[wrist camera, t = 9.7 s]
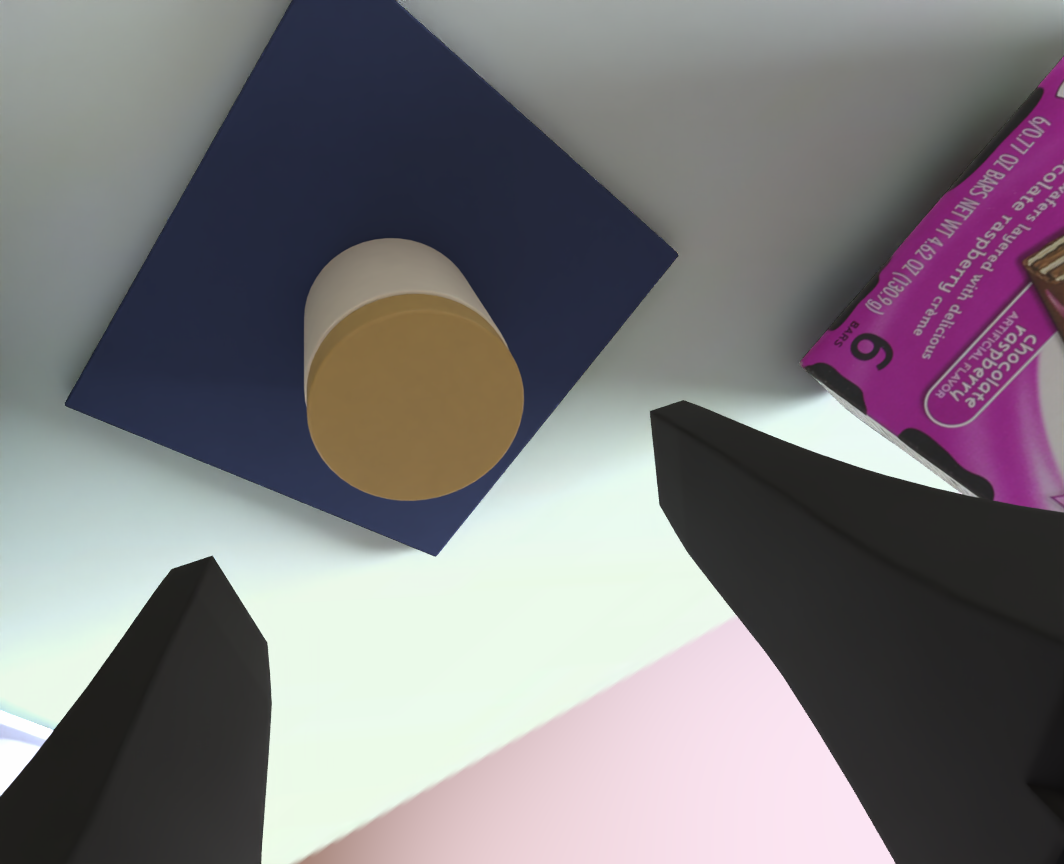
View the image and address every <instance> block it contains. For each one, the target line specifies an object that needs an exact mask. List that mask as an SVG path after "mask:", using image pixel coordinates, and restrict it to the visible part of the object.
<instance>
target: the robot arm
mask: <svg viewBox="0 0 1064 864" xmlns="http://www.w3.org/2000/svg"><path fill="white" fill-rule="evenodd" d="M650 418H651V427H652V437H653V446H654V456H655V466H656V475H657V485H658V494H659V504H660V506H661V508H662V510H663V512H664V513H665V515H666V517H667V519H668V520H669V522H670V524H671V526H672V527H673V529H674V531H675V533H676V534H677V536H678V537H679V539H680V541H681V542H682V544H683V546H684V547H685V549H686V551H687V552H688V554H689V555H690V556H691V557H692V559H693V560H694V561H695V563H696V564H697V565H698V567H699V568H700V569H701V570H702V572H703V573H704V574H705V576H706V577H707V578H708V580H709V581H710V582H711V583H712V585H713V586H714V587H715V589H716V590H717V591H718V592H719V594H720V595H721V596H722V597H723V599H724V600H725V601H726V602H727V604H728V605H729V606H730V608H731V609H732V610H733V611H734V613H735V614H736V615H737V616H738V618H739V619H740V620H741V621H742V623H743V624H744V625H745V627H746V628H747V629H748V630H749V632H750V633H751V634H752V635H753V637H754V638H755V639H756V641H757V642H758V643H759V644H760V646H761V647H762V648H763V649H764V651H765V652H766V653H767V655H768V656H769V657H770V659H771V660H772V662H773V663H774V664H775V666H776V667H777V669H778V670H779V671H780V673H781V674H782V676H783V677H784V679H785V680H786V682H787V683H788V685H789V686H790V688H791V690H792V691H793V693H794V694H795V696H796V697H797V699H798V701H799V702H800V704H801V705H802V707H803V708H804V710H805V712H806V713H807V715H808V716H809V718H810V719H811V721H812V723H813V724H814V726H815V727H816V729H817V730H818V732H819V734H820V735H821V737H822V739H823V740H824V742H825V744H826V745H827V747H828V749H829V750H830V752H831V754H832V755H833V757H834V758H835V760H836V762H837V763H838V765H839V767H840V768H841V770H842V772H843V773H844V775H845V777H846V778H847V780H848V782H849V783H850V785H851V787H852V788H853V790H854V792H855V793H856V795H857V797H858V798H859V800H860V802H861V804H862V806H863V807H864V809H865V811H866V813H867V814H868V816H869V818H870V819H871V821H872V823H873V825H874V826H875V828H876V830H877V832H878V833H879V835H880V837H881V838H882V840H883V842H884V844H885V845H886V847H887V849H888V851H889V852H890V854H891V856H892V858H893V859H894V861H895V863H896V864H1064V512H1058V511H1052V510H1045V509H1039V508H1032V507H1026V506H1020V505H1015V504H1009V503H1004V502H999V501H994V500H989V499H983V498H978V497H973V496H968V495H963V494H958V493H954V492H949V491H945V490H940V489H936V488H932V487H928V486H924V485H920V484H917V483H913V482H909V481H905V480H901V479H898V478H894V477H890V476H886V475H883V474H879V473H876V472H873V471H869V470H866V469H863V468H859V467H856V466H853V465H850V464H847V463H844V462H842V461H839V460H836V459H833V458H830V457H827V456H824V455H821V454H818V453H815V452H812V451H810V450H807V449H804V448H802V447H799V446H796V445H794V444H791V443H788V442H786V441H783V440H781V439H778V438H776V437H773V436H771V435H768V434H766V433H763V432H761V431H758V430H756V429H753V428H751V427H749V426H746V425H744V424H741V423H739V422H737V421H734V420H732V419H729V418H727V417H725V416H722V415H720V414H718V413H715V412H713V411H710V410H708V409H705V408H703V407H701V406H698V405H695V404H693V403H690V402H687V401H684V400H682V401H679V402H676V403H673V404H670V405H667V406H664V407H661V408H658V409H655V410H652V411H650ZM271 706H272V701H271V683H270V669H269V657H268V645H267V642H266V640H265V638H264V637H263V635H262V634H261V632H260V630H259V629H258V627H257V626H256V624H255V622H254V621H253V619H252V618H251V616H250V615H249V613H248V611H247V610H246V608H245V607H244V605H243V603H242V602H241V600H240V599H239V597H238V595H237V594H236V592H235V591H234V589H233V587H232V586H231V584H230V583H229V581H228V580H227V578H226V576H225V575H224V573H223V572H222V570H221V568H220V567H219V565H218V564H217V562H216V560H215V559H214V557H213V556H210V557H207V558H204V559H201V560H198V561H195V562H192V563H189V564H186V565H183V566H180V567H177V568H174V569H171V571H170V572H169V573H168V575H167V576H166V577H165V578H164V580H163V581H162V582H161V584H160V585H159V586H158V588H157V589H156V590H155V592H154V593H153V595H152V596H151V597H150V599H149V600H148V602H147V603H146V605H145V606H144V607H143V609H142V610H141V612H140V613H139V615H138V616H137V617H136V619H135V620H134V622H133V623H132V625H131V626H130V627H129V629H128V630H127V632H126V633H125V635H124V636H123V637H122V639H121V640H120V642H119V643H118V644H117V646H116V647H115V649H114V650H113V651H112V653H111V654H110V656H109V657H108V658H107V660H106V661H105V663H104V664H103V665H102V667H101V668H100V670H99V671H98V672H97V674H96V675H95V677H94V678H93V679H92V681H91V682H90V684H89V685H88V686H87V688H86V689H85V690H84V692H83V693H82V694H81V696H80V697H79V698H78V700H77V701H76V702H75V703H74V705H73V706H72V707H71V709H70V710H69V711H68V712H67V714H66V715H65V716H64V718H63V719H62V720H61V722H60V723H59V724H58V725H57V727H56V728H55V729H54V730H52V729H49V728H47V727H44V726H41V725H39V724H36V723H33V722H31V721H28V720H25V719H23V718H20V717H17V716H15V715H12V714H9V713H7V712H4V711H1V710H0V864H261V852H262V838H263V824H264V810H265V796H266V783H267V769H268V755H269V740H270V724H271Z"/></svg>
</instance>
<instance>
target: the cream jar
mask: <svg viewBox="0 0 1064 864" xmlns="http://www.w3.org/2000/svg"><path fill="white" fill-rule="evenodd" d="M304 394H305V403H306V407H307V420H308V427H309V431H310V435H311V438H312V441H313V443H314V445H315V448H316V450H317V451H318V453H319V454H320V456H321V458H322V459H323V461H324V462H325V463H326V464H327V465H328V467H329V468H330V469H331V470H332V471H333V472H334V473H335V474H337V475H338V476H339V477H340V478H341V479H343V480H344V481H345V482H347V483H348V484H350V485H351V486H353V487H355V488H357V489H359V490H361V491H363V492H366V493H368V494H371V495H374V496H377V497H382V498H386V499H392V500H400V501H416V500H426V499H431V498H436V497H441V496H444V495H447V494H450V493H453V492H455V491H458V490H460V489H462V488H464V487H466V486H468V485H470V484H472V483H473V482H475V481H476V480H478V479H479V478H481V477H482V476H484V475H485V474H486V473H487V472H488V471H489V470H491V469H492V468H493V467H494V466H495V465H496V464H497V463H498V462H499V460H500V459H501V458H502V457H503V456H504V454H505V453H506V451H507V450H508V449H509V447H510V445H511V444H512V442H513V440H514V438H515V436H516V434H517V431H518V428H519V426H520V422H521V418H522V414H523V406H524V389H523V383H522V378H521V375H520V372H519V369H518V366H517V364H516V362H515V360H514V358H513V356H512V354H511V353H510V351H509V349H508V346H507V344H506V342H505V340H504V338H503V336H502V334H501V333H500V331H499V330H498V328H497V326H496V325H495V323H494V322H493V320H492V319H491V317H490V316H489V314H488V312H487V311H486V309H485V308H484V306H483V305H482V303H481V302H480V300H479V299H478V297H477V295H476V294H475V292H474V291H473V289H472V288H471V286H470V285H469V283H468V282H467V280H466V278H465V277H464V276H463V274H462V273H461V271H460V270H459V269H458V268H457V267H456V266H455V265H454V264H453V262H452V261H450V260H449V259H448V258H447V257H445V256H444V255H443V254H441V253H440V252H438V251H436V250H435V249H433V248H431V247H429V246H427V245H424V244H422V243H419V242H415V241H412V240H406V239H399V238H384V239H375V240H371V241H367V242H363V243H360V244H358V245H355V246H352V247H350V248H349V249H347V250H345V251H343V252H341V253H340V254H339V255H337V256H336V257H335V258H333V259H332V260H331V261H330V262H329V263H328V264H327V265H326V266H325V267H324V268H323V269H322V271H321V272H320V273H319V275H318V276H317V277H316V279H315V281H314V283H313V285H312V286H311V289H310V291H309V294H308V297H307V301H306V305H305V313H304Z"/></svg>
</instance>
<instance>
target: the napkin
mask: <svg viewBox="0 0 1064 864" xmlns="http://www.w3.org/2000/svg"><path fill="white" fill-rule="evenodd" d="M384 238H399V239H406V240H412V241H415V242H419V243H422V244H424V245H427V246H429V247H431V248H433V249H435V250H436V251H438V252H440V253H441V254H443V255H444V256H445V257H447V258H448V259H449V260H450V261H452V262H453V264H454V265H455V266H456V267H457V268H458V269H459V270H460V271H461V273H462V274H463V276H464V277H465V278H466V280H467V282H468V283H469V285H470V286H471V288H472V289H473V291H474V292H475V294H476V295H477V297H478V299H479V300H480V302H481V303H482V305H483V306H484V308H485V309H486V311H487V312H488V314H489V316H490V317H491V319H492V320H493V322H494V323H495V325H496V326H497V328H498V330H499V331H500V333H501V334H502V336H503V338H504V340H505V342H506V344H507V346H508V349H509V351H510V353H511V354H512V356H513V358H514V360H515V362H516V364H517V366H518V369H519V372H520V375H521V378H522V383H523V389H524V406H523V414H522V418H521V422H520V426H519V428H518V431H517V434H516V436H515V438H514V440H513V442H512V444H511V445H510V447H509V449H508V450H507V451H506V453H505V454H504V456H503V457H502V458H501V459H500V460H499V462H498V463H497V464H496V465H495V466H494V467H493V468H492V469H491V470H489V471H488V472H487V473H486V474H485V475H484V476H482V477H481V478H479V479H478V480H476V481H475V482H473V483H472V484H470V485H468V486H466V487H464V488H462V489H460V490H458V491H455V492H453V493H450V494H447V495H444V496H441V497H436V498H431V499H426V500H416V501H400V500H392V499H386V498H382V497H377V496H374V495H371V494H368V493H366V492H363V491H361V490H359V489H357V488H355V487H353V486H351V485H350V484H348V483H347V482H345V481H344V480H343V479H341V478H340V477H339V476H338V475H337V474H335V473H334V472H333V471H332V470H331V469H330V468H329V467H328V465H327V464H326V463H325V462H324V461H323V459H322V458H321V456H320V454H319V453H318V451H317V450H316V448H315V445H314V443H313V441H312V438H311V435H310V431H309V427H308V420H307V407H306V403H305V394H304V313H305V305H306V301H307V297H308V294H309V291H310V289H311V286H312V285H313V283H314V281H315V279H316V277H317V276H318V275H319V273H320V272H321V271H322V269H323V268H324V267H325V266H326V265H327V264H328V263H329V262H330V261H331V260H332V259H333V258H335V257H336V256H337V255H339V254H340V253H341V252H343V251H345V250H347V249H349V248H350V247H352V246H355V245H358V244H360V243H363V242H367V241H371V240H375V239H384ZM677 257H678V253H677V252H676V251H675V250H674V249H673V248H671V247H670V246H669V245H668V244H667V243H666V242H665V241H664V240H663V239H661V238H660V237H659V236H658V235H657V234H656V233H655V232H654V231H652V230H651V229H650V228H649V227H648V226H647V225H646V224H645V223H644V222H642V221H641V220H640V219H639V218H638V217H637V216H636V215H635V214H633V213H632V212H631V211H630V210H629V209H628V208H627V207H626V206H625V205H623V204H622V203H621V202H620V201H619V200H618V199H617V198H616V197H614V196H613V195H612V194H611V193H610V192H609V191H608V190H607V189H606V188H604V187H603V186H602V185H601V184H600V183H599V182H598V181H597V180H595V179H594V178H593V177H592V176H591V175H590V174H589V173H588V172H587V171H585V170H584V169H583V168H582V167H581V166H580V165H579V164H578V163H576V162H575V161H574V160H573V159H572V158H571V157H570V156H569V155H568V154H566V153H565V152H564V151H563V150H562V149H561V148H560V147H559V146H557V145H556V144H555V143H554V142H553V141H552V140H551V139H550V138H549V137H547V136H546V135H545V134H544V133H543V132H542V131H541V130H540V129H538V128H537V127H536V126H535V125H534V124H533V123H532V122H531V121H530V120H528V119H527V118H526V117H525V116H524V115H523V114H522V113H521V112H519V111H518V110H517V109H516V108H515V107H514V106H513V105H512V104H511V103H509V102H508V101H507V100H506V99H505V98H504V97H503V96H502V95H500V94H499V93H498V92H497V91H496V90H495V89H494V88H493V87H492V86H490V85H489V84H488V83H487V82H486V81H485V80H484V79H483V78H481V77H480V76H479V75H478V74H477V73H476V72H475V71H474V70H473V69H471V68H470V67H469V66H468V65H467V64H466V63H465V62H464V61H462V60H461V59H460V58H459V57H458V56H457V55H456V54H455V53H454V52H452V51H451V50H450V49H449V48H448V47H447V46H446V45H445V44H443V43H442V42H441V41H440V40H439V39H438V38H437V37H436V36H435V35H433V34H432V33H431V32H430V31H429V30H428V29H427V28H426V27H424V26H423V25H422V24H421V23H420V22H419V21H418V20H417V19H416V18H414V17H413V16H412V15H411V14H410V13H409V12H408V11H407V10H405V9H404V8H403V7H402V6H401V5H400V4H399V3H398V2H397V1H395V0H292V1H291V3H290V5H289V7H288V9H287V10H286V12H285V14H284V16H283V17H282V19H281V21H280V23H279V24H278V26H277V28H276V30H275V32H274V33H273V35H272V37H271V39H270V40H269V42H268V44H267V46H266V47H265V49H264V51H263V53H262V55H261V56H260V58H259V60H258V62H257V63H256V65H255V67H254V69H253V71H252V72H251V74H250V76H249V78H248V79H247V81H246V83H245V85H244V86H243V88H242V90H241V92H240V94H239V95H238V97H237V99H236V101H235V102H234V104H233V106H232V108H231V109H230V111H229V113H228V115H227V117H226V118H225V120H224V122H223V124H222V125H221V127H220V129H219V131H218V133H217V134H216V136H215V138H214V140H213V141H212V143H211V145H210V147H209V148H208V150H207V152H206V154H205V156H204V157H203V159H202V161H201V163H200V164H199V166H198V168H197V170H196V171H195V173H194V175H193V177H192V179H191V180H190V182H189V184H188V186H187V187H186V189H185V191H184V193H183V195H182V196H181V198H180V200H179V202H178V203H177V205H176V207H175V209H174V210H173V212H172V214H171V216H170V218H169V219H168V221H167V223H166V225H165V226H164V228H163V230H162V232H161V233H160V235H159V237H158V239H157V241H156V242H155V244H154V246H153V248H152V249H151V251H150V253H149V255H148V257H147V258H146V260H145V262H144V264H143V265H142V267H141V269H140V271H139V272H138V274H137V276H136V278H135V280H134V281H133V283H132V285H131V287H130V288H129V290H128V292H127V294H126V295H125V297H124V299H123V301H122V303H121V304H120V306H119V308H118V310H117V311H116V313H115V315H114V317H113V319H112V320H111V322H110V324H109V326H108V327H107V329H106V331H105V333H104V334H103V336H102V338H101V340H100V342H99V343H98V345H97V347H96V349H95V350H94V352H93V354H92V356H91V357H90V359H89V361H88V363H87V365H86V366H85V368H84V370H83V372H82V373H81V375H80V377H79V379H78V381H77V382H76V384H75V386H74V388H73V389H72V391H71V393H70V395H69V396H68V398H67V400H66V402H65V406H67V407H69V408H72V409H74V410H76V411H79V412H81V413H84V414H86V415H89V416H91V417H94V418H96V419H99V420H101V421H103V422H106V423H108V424H111V425H113V426H116V427H118V428H121V429H123V430H126V431H128V432H130V433H133V434H135V435H138V436H140V437H143V438H145V439H148V440H150V441H153V442H155V443H158V444H160V445H162V446H165V447H167V448H170V449H172V450H175V451H177V452H180V453H182V454H185V455H187V456H189V457H192V458H194V459H197V460H199V461H202V462H204V463H207V464H209V465H212V466H214V467H216V468H219V469H221V470H224V471H226V472H229V473H231V474H234V475H236V476H239V477H241V478H243V479H246V480H248V481H251V482H253V483H256V484H258V485H261V486H263V487H266V488H268V489H270V490H273V491H275V492H278V493H280V494H283V495H285V496H288V497H290V498H293V499H295V500H297V501H300V502H302V503H305V504H307V505H310V506H312V507H315V508H317V509H320V510H322V511H324V512H327V513H329V514H332V515H334V516H337V517H339V518H342V519H344V520H347V521H349V522H352V523H354V524H356V525H359V526H361V527H364V528H366V529H369V530H371V531H374V532H376V533H379V534H381V535H383V536H386V537H388V538H391V539H393V540H396V541H398V542H401V543H403V544H406V545H408V546H410V547H413V548H415V549H418V550H420V551H423V552H425V553H428V554H430V555H433V556H437V555H438V554H439V552H440V551H441V550H442V549H443V547H444V546H445V545H446V544H447V542H448V541H449V540H450V539H451V537H452V536H453V535H454V534H455V532H456V531H457V530H458V529H459V528H460V526H461V525H462V524H463V523H464V521H465V520H466V519H467V518H468V516H469V515H470V514H471V513H472V511H473V510H474V509H475V508H476V506H477V505H478V504H479V503H480V501H481V500H482V499H483V498H484V496H485V495H486V494H487V493H488V492H489V490H490V489H491V488H492V487H493V485H494V484H495V483H496V482H497V480H498V479H499V478H500V477H501V475H502V474H503V473H504V472H505V470H506V469H507V468H508V467H509V465H510V464H511V463H512V462H513V460H514V459H515V458H516V457H517V455H518V454H519V453H520V452H521V451H522V449H523V448H524V447H525V446H526V444H527V443H528V442H529V441H530V439H531V438H532V437H533V436H534V434H535V433H536V432H537V431H538V429H539V428H540V427H541V426H542V424H543V423H544V422H545V421H546V419H547V418H548V417H549V416H550V415H551V413H552V412H553V411H554V410H555V408H556V407H557V406H558V405H559V403H560V402H561V401H562V400H563V398H564V397H565V396H566V395H567V393H568V392H569V391H570V390H571V388H572V387H573V386H574V385H575V383H576V382H577V381H578V380H579V379H580V377H581V376H582V375H583V374H584V372H585V371H586V370H587V369H588V367H589V366H590V365H591V364H592V362H593V361H594V360H595V359H596V357H597V356H598V355H599V354H600V352H601V351H602V350H603V349H604V347H605V346H606V345H607V344H608V343H609V341H610V340H611V339H612V338H613V336H614V335H615V334H616V333H617V331H618V330H619V329H620V328H621V326H622V325H623V324H624V323H625V321H626V320H627V319H628V318H629V316H630V315H631V314H632V313H633V311H634V310H635V309H636V308H637V306H638V305H639V304H640V303H641V302H642V300H643V299H644V298H645V297H646V295H647V294H648V293H649V292H650V290H651V289H652V288H653V287H654V285H655V284H656V283H657V282H658V280H659V279H660V278H661V277H662V275H663V274H664V273H665V272H666V270H667V269H668V268H669V267H670V266H671V264H672V263H673V262H674V261H675V259H676V258H677Z"/></svg>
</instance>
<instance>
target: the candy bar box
mask: <svg viewBox="0 0 1064 864" xmlns="http://www.w3.org/2000/svg"><path fill="white" fill-rule="evenodd" d="M799 364H800V366H801V367H803V368H804V369H805V370H806V371H807V372H808V373H809V374H810V375H811V376H812V377H814V378H815V379H816V380H817V381H818V382H819V383H820V384H821V385H822V386H823V387H824V388H825V389H826V390H827V391H828V392H829V393H830V394H831V395H832V396H833V397H834V398H835V399H836V400H837V401H838V402H839V403H840V404H841V405H842V406H844V407H845V408H846V409H847V410H848V411H850V412H851V413H852V414H854V415H855V416H856V417H857V418H859V419H860V420H861V421H863V422H864V423H866V424H867V425H868V426H870V427H871V428H872V429H874V430H875V431H877V432H878V433H879V434H881V435H882V436H884V437H885V438H887V439H888V440H889V441H891V442H892V443H894V444H895V445H897V446H898V447H900V448H901V449H902V450H904V451H905V452H906V453H908V454H909V455H910V456H912V457H913V458H915V459H916V460H917V461H919V462H920V463H921V464H923V465H924V466H925V467H927V468H928V469H930V470H931V471H932V472H934V473H935V474H936V475H938V476H939V477H940V478H942V479H943V480H944V481H946V482H947V483H948V484H950V485H951V486H953V487H954V488H955V489H957V490H958V491H959V492H961V493H962V494H963V495H968V496H973V497H978V498H983V499H989V500H994V501H999V502H1004V503H1009V504H1015V505H1020V506H1026V507H1032V508H1039V509H1045V510H1052V511H1058V512H1064V56H1063V57H1062V59H1061V60H1060V61H1059V62H1058V63H1057V65H1056V66H1055V67H1054V68H1053V69H1052V70H1051V72H1050V73H1049V74H1048V75H1047V76H1046V77H1045V78H1044V79H1043V81H1042V82H1041V83H1040V84H1039V86H1038V87H1037V88H1036V89H1035V90H1034V91H1033V93H1032V94H1031V95H1030V96H1029V97H1028V98H1027V100H1026V101H1025V102H1024V103H1023V104H1022V105H1021V106H1020V108H1019V109H1018V110H1017V111H1016V112H1015V113H1014V115H1013V116H1012V117H1011V118H1010V119H1009V120H1008V121H1007V123H1006V124H1005V125H1004V126H1003V127H1002V128H1001V130H1000V131H999V132H998V133H997V134H996V135H995V136H994V138H993V139H992V140H991V141H990V142H989V143H988V144H987V145H986V147H985V148H984V149H983V150H982V151H981V152H980V153H979V154H978V156H977V157H976V158H975V159H974V160H973V161H972V162H971V163H970V165H969V166H968V167H967V168H966V170H965V171H964V172H963V173H962V174H961V176H960V177H959V178H958V179H957V180H956V181H955V183H954V184H953V185H952V186H951V187H950V188H949V190H948V191H947V192H946V193H945V194H944V195H943V196H942V198H941V199H940V200H939V201H938V202H937V203H936V205H935V206H934V207H933V208H932V209H931V210H930V211H929V213H928V214H927V215H926V216H925V217H924V218H923V219H922V221H921V222H920V223H919V224H918V225H917V226H916V228H915V229H914V230H913V231H912V232H911V233H910V235H909V236H908V237H907V238H906V239H905V241H904V242H903V243H902V244H901V245H900V246H899V248H898V249H897V250H896V251H895V252H894V254H893V255H892V256H891V257H890V258H889V259H888V260H887V262H886V263H885V264H884V265H883V266H882V267H881V268H880V269H879V271H878V272H877V273H876V274H875V275H874V276H873V278H872V279H871V280H870V281H869V282H868V283H867V285H866V286H865V287H864V288H863V289H862V291H861V292H860V293H859V294H858V295H857V296H856V297H855V299H854V300H853V301H852V302H851V303H850V304H849V305H848V306H847V308H846V309H845V310H844V311H843V312H842V313H841V314H840V316H839V317H838V318H837V319H836V320H835V321H834V323H833V324H832V325H831V326H830V327H829V328H828V330H827V331H826V332H825V333H824V334H823V335H822V337H821V338H820V339H819V340H818V341H817V342H816V343H815V345H814V346H813V347H812V348H811V349H810V350H809V351H808V353H807V354H806V355H805V356H804V357H803V359H802V360H801V361H800V363H799Z"/></svg>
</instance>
